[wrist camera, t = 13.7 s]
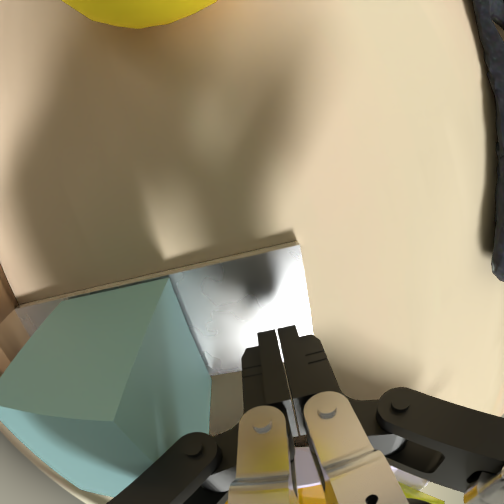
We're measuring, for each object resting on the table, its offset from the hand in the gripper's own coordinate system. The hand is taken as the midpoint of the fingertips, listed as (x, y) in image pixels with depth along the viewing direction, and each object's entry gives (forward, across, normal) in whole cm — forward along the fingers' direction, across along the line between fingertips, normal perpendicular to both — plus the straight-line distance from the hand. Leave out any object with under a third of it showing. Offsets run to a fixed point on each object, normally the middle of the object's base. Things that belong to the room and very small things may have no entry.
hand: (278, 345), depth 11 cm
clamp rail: (+2, +6, 0) cm, 7 cm away
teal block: (+2, +7, 0) cm, 7 cm away
